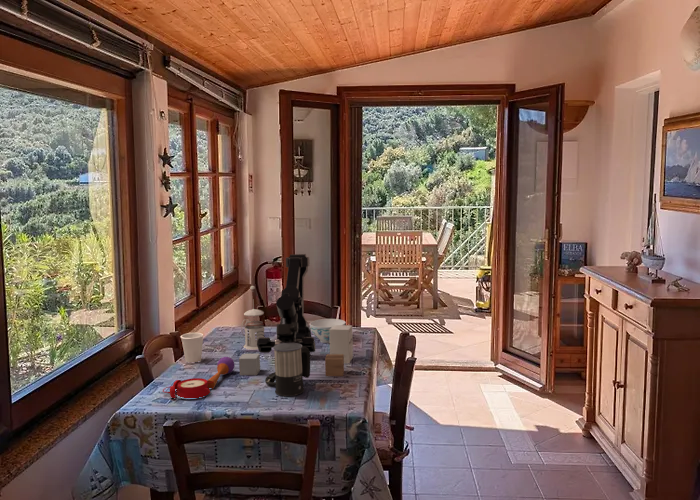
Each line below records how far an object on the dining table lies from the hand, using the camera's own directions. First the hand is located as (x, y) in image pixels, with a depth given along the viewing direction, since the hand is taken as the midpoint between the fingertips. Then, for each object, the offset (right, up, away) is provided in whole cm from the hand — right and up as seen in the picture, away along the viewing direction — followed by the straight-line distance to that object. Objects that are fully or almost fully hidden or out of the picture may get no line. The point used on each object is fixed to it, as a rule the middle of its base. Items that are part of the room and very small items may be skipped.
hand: (284, 367), depth 197 cm
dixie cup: (-38, -4, +34) cm, 51 cm away
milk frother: (0, -7, 0) cm, 7 cm away
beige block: (-14, -5, +18) cm, 24 cm away
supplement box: (+18, -3, +30) cm, 35 cm away
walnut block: (+16, -5, +15) cm, 22 cm away
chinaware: (+12, 0, +58) cm, 59 cm away
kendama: (-23, -7, +11) cm, 27 cm away
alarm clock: (-30, -8, -3) cm, 32 cm away
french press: (-18, -2, +52) cm, 55 cm away
